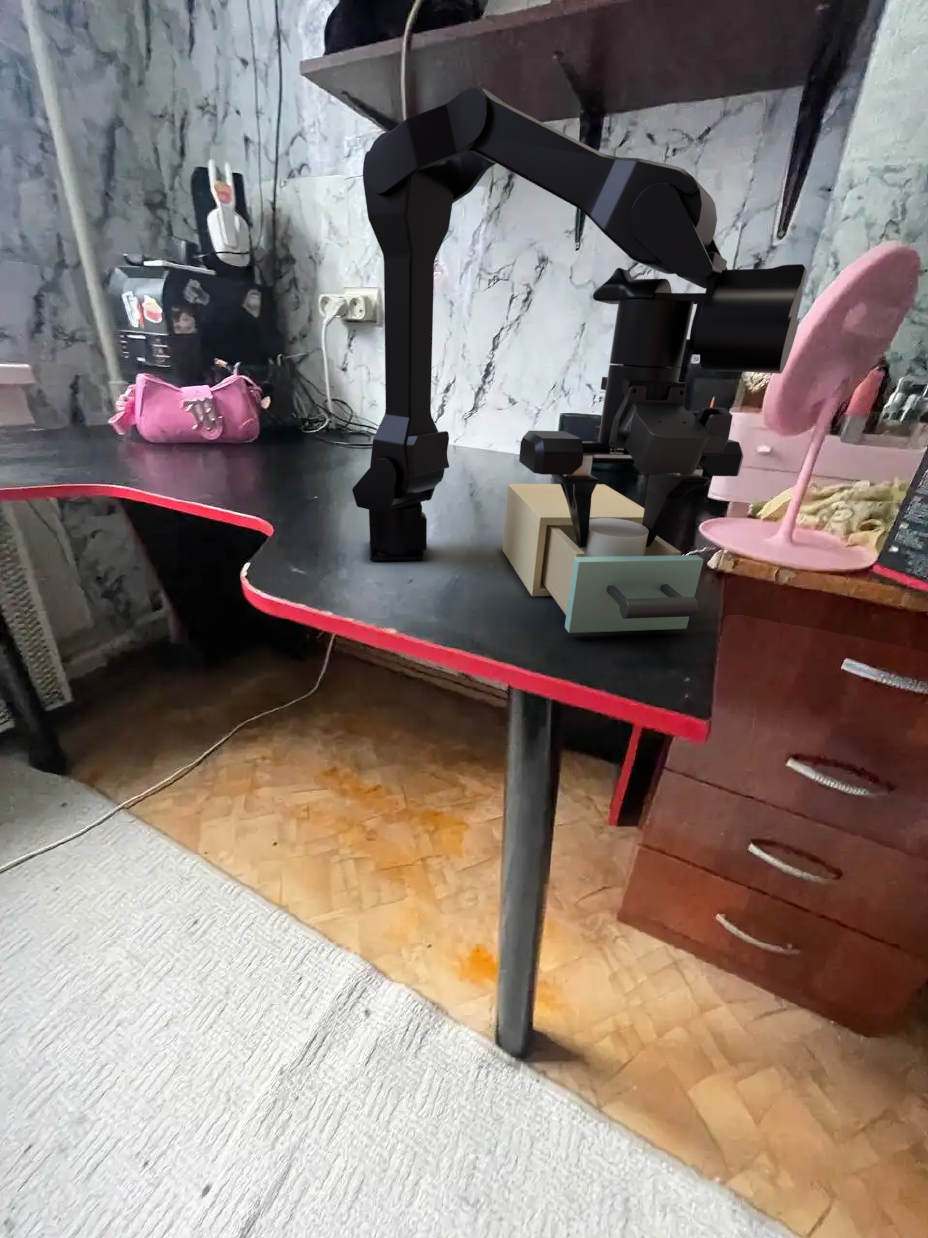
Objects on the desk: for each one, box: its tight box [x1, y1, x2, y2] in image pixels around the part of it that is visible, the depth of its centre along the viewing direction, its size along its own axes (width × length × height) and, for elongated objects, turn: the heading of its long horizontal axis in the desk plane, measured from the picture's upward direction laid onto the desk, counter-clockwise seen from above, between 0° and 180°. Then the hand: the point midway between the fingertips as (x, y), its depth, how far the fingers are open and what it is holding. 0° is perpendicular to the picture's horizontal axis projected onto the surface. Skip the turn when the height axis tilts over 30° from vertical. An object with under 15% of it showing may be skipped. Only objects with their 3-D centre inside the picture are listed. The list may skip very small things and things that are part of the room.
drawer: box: [541, 525, 704, 634], centre depth 52 cm, size 18×11×7 cm, turn 9°
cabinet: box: [502, 483, 645, 597], centre depth 63 cm, size 15×13×9 cm
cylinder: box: [580, 518, 649, 557], centre depth 52 cm, size 6×6×4 cm
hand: (613, 546), depth 52 cm, fingers open, 6 cm apart
